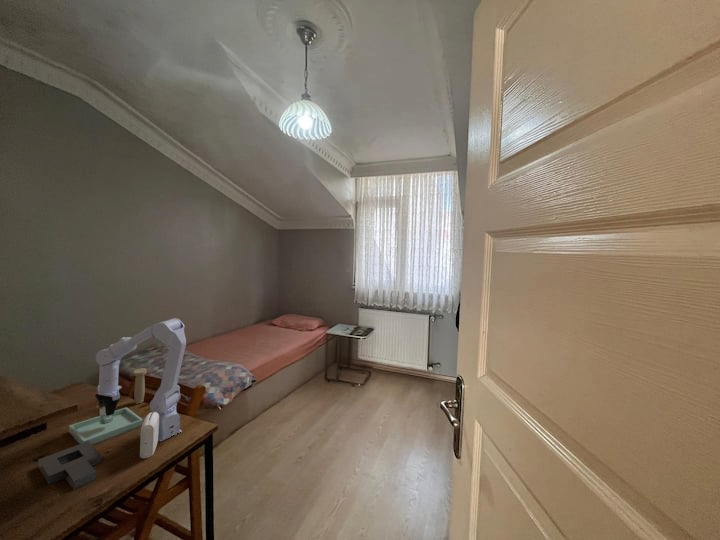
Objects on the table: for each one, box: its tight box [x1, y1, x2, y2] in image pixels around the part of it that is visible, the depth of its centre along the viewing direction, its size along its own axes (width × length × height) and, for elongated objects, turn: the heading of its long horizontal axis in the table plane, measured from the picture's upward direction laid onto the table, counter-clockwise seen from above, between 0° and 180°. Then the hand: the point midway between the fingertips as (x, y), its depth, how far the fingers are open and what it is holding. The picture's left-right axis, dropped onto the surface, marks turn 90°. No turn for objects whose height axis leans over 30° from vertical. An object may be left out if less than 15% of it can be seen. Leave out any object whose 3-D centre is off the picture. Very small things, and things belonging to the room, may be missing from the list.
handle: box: [133, 367, 148, 405], centre depth 135 cm, size 5×6×15 cm
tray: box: [68, 406, 144, 446], centre depth 114 cm, size 16×18×2 cm
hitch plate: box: [37, 441, 102, 490], centre depth 92 cm, size 20×12×2 cm, turn 58°
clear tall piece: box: [96, 403, 113, 424], centre depth 114 cm, size 6×4×8 cm, turn 157°
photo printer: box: [139, 411, 159, 459], centre depth 104 cm, size 10×4×12 cm, turn 25°
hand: (107, 412), depth 114 cm, fingers closed on clear tall piece, 4 cm apart
